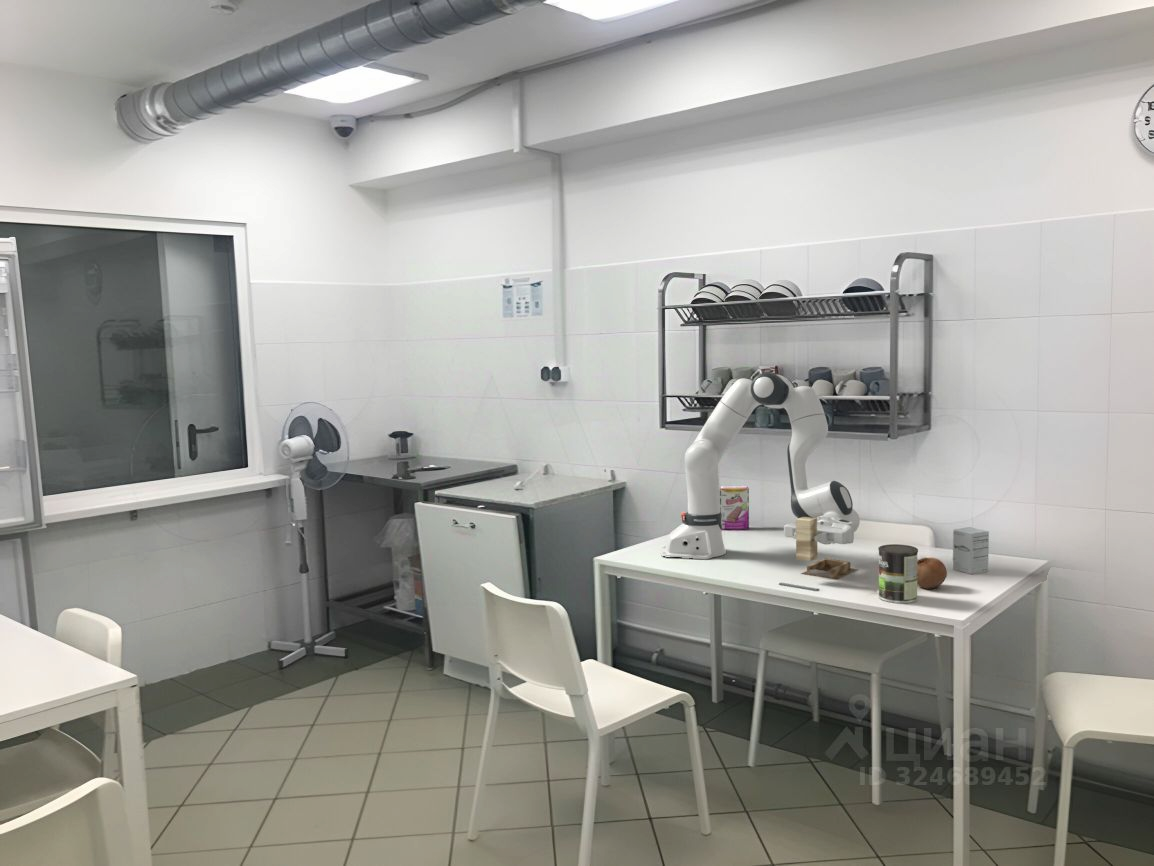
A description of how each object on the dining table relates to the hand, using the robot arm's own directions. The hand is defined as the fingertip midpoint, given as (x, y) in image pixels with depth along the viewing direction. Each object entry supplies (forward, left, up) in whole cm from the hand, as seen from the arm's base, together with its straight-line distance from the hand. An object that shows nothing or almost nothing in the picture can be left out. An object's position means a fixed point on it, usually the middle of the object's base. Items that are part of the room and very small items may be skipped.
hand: (805, 537), depth 265 cm
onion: (+34, -4, -14) cm, 37 cm away
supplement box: (+51, +15, -14) cm, 55 cm away
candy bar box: (-17, +80, -14) cm, 83 cm away
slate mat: (+1, +1, -14) cm, 14 cm away
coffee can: (+23, -15, -14) cm, 31 cm away
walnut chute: (+9, +13, -14) cm, 21 cm away
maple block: (+1, +1, -6) cm, 7 cm away
